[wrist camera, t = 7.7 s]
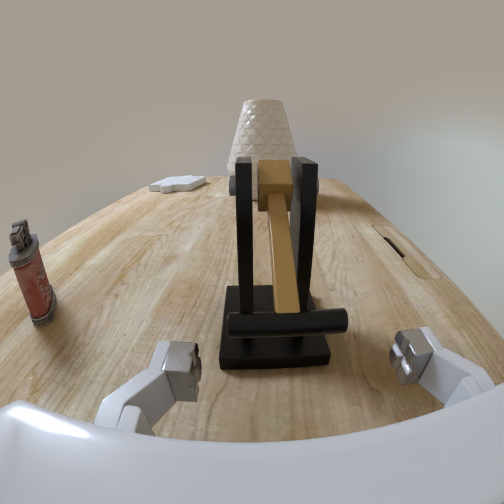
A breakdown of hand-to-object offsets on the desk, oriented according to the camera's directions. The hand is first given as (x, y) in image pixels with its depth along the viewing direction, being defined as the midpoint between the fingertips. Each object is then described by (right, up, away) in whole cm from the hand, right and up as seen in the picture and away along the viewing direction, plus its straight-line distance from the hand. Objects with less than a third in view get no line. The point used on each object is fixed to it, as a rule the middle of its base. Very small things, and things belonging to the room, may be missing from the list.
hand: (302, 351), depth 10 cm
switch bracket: (0, -2, +13) cm, 14 cm away
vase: (+1, +17, +58) cm, 61 cm away
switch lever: (0, +4, +7) cm, 8 cm away
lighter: (-26, -2, +15) cm, 30 cm away
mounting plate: (-24, +24, +72) cm, 80 cm away
